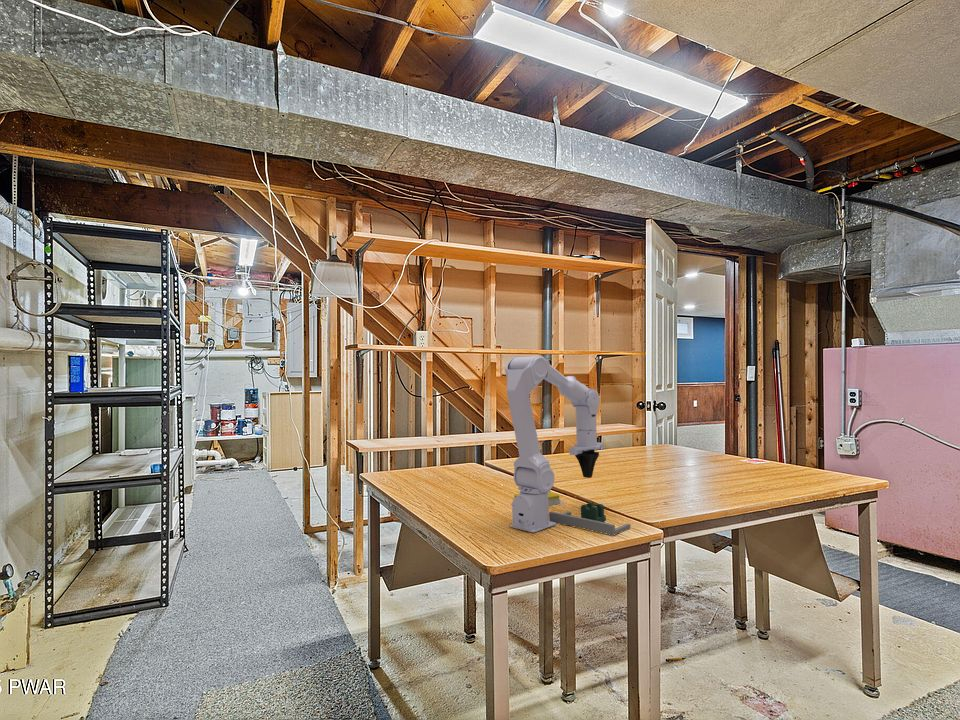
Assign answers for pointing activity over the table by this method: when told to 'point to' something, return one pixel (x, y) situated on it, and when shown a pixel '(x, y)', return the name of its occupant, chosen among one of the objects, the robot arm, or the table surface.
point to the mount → (593, 512)
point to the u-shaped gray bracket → (586, 523)
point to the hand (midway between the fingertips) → (587, 477)
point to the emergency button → (550, 499)
